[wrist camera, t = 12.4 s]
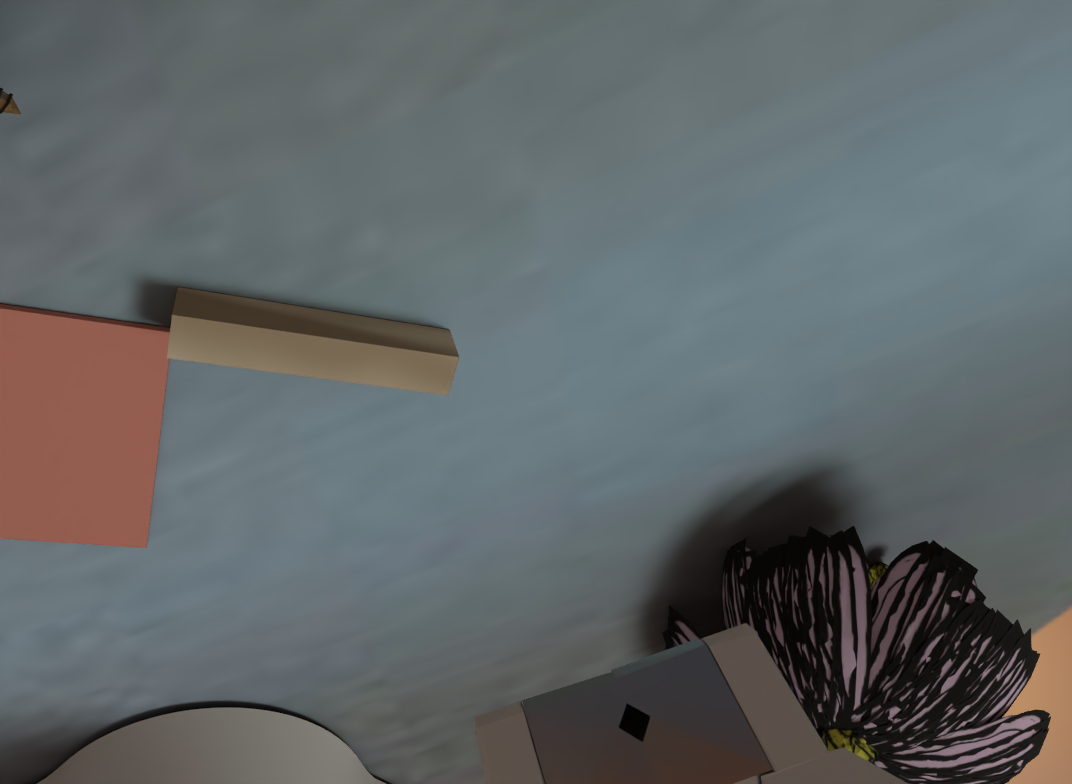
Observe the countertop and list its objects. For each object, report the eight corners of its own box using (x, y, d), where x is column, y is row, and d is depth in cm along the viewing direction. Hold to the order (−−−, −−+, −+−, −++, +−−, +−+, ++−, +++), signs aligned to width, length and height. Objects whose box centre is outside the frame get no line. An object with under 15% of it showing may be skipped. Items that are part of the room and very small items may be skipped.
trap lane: (439, 366, 33) (453, 410, 30) (-471, 236, 24) (-555, 283, 22) (584, -163, 25) (618, -162, 23) (-665, -626, 17) (-829, -704, 14)
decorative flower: (781, 644, 30) (1170, 768, 32) (763, 407, 39) (1070, 515, 41) (617, 809, 40) (922, 898, 42) (632, 590, 48) (884, 671, 50)
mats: (147, 542, 34) (146, 547, 34) (-107, 525, 31) (-110, 531, 31) (310, -823, 18) (311, -831, 18) (-171, -1101, 15) (-178, -1116, 15)
